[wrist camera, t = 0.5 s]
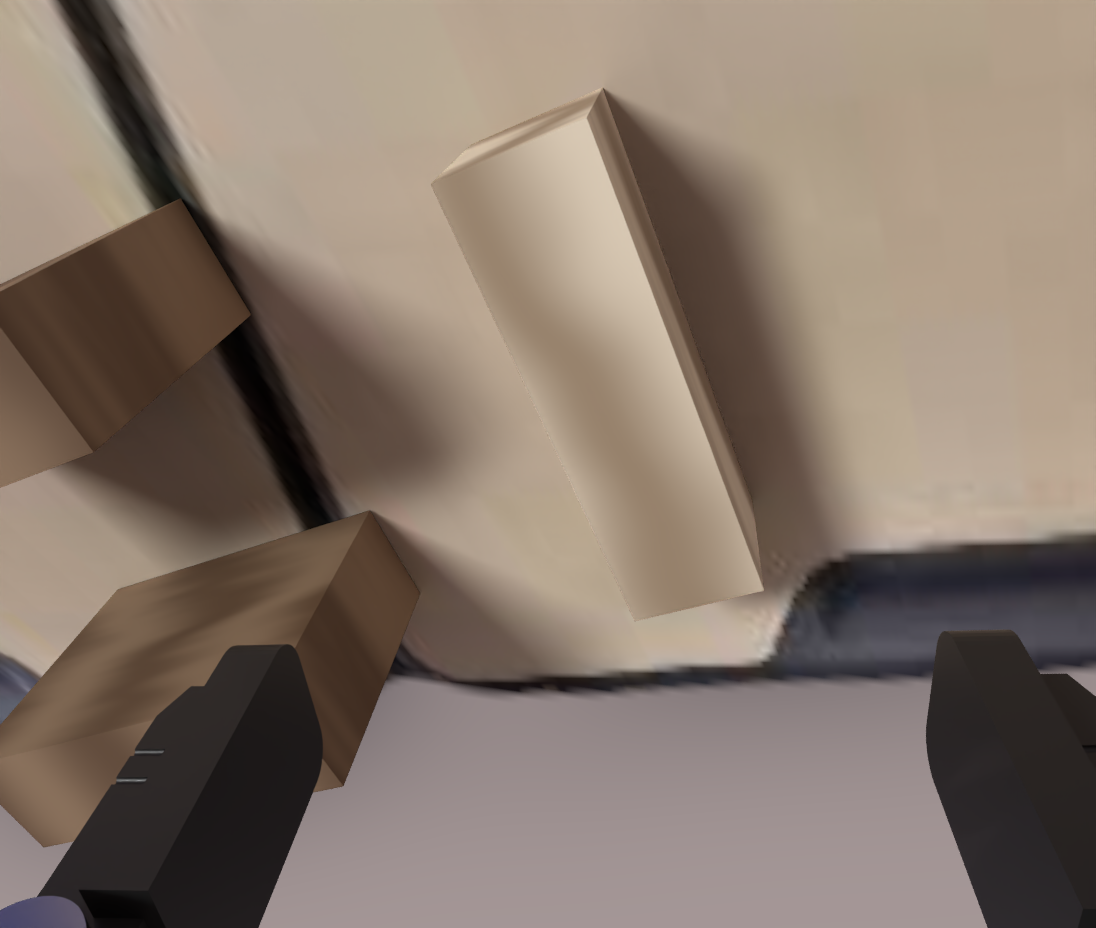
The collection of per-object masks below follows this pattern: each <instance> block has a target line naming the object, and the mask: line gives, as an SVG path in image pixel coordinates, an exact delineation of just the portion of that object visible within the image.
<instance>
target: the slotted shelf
mask: <svg viewBox="0 0 1096 928" xmlns="http://www.w3.org/2000/svg"><path fill="white" fill-rule="evenodd" d="M250 315H251V314H250V312H249V310H248V309H247V307H246V305H245V304H244V302H243V301H242V299H241V297H240V296H239V294H238V292H237V291H236V289H235V287H234V286H233V284H232V282H231V281H230V279H229V277H228V276H227V274H226V272H225V271H224V269H223V268H222V266H221V264H220V263H219V261H218V259H217V258H216V256H215V254H214V253H213V251H212V249H211V248H210V246H209V244H208V243H207V241H206V239H205V238H204V236H203V235H202V233H201V231H200V230H199V228H198V226H197V225H196V223H195V221H194V220H193V218H192V216H191V215H190V213H189V211H188V210H187V208H186V206H185V205H184V203H183V202H182V200H181V198H180V199H178V200H176V201H174V202H172V203H170V204H168V205H166V206H164V207H162V208H159V209H157V210H155V211H153V212H151V213H149V214H147V215H145V216H143V217H141V218H138V219H136V220H134V221H132V222H130V223H128V224H126V225H124V226H122V227H120V228H118V229H115V230H113V231H111V232H109V233H107V234H105V235H103V236H101V237H99V238H97V239H94V240H92V241H90V242H88V243H86V244H84V245H82V246H80V247H78V248H76V249H74V250H71V251H69V252H67V253H65V254H63V255H61V256H59V257H57V258H55V259H53V260H50V261H48V262H46V263H44V264H42V265H40V266H38V267H36V268H34V269H32V270H30V271H27V272H25V273H23V274H21V275H19V276H17V277H15V278H13V279H11V280H9V281H6V282H4V283H2V284H0V488H1V487H4V486H6V485H9V484H11V483H14V482H17V481H19V480H22V479H25V478H27V477H30V476H32V475H35V474H38V473H40V472H43V471H46V470H48V469H51V468H54V467H56V466H59V465H61V464H64V463H67V462H69V461H72V460H75V459H77V458H80V457H82V456H85V455H88V454H90V453H93V452H94V451H96V450H97V449H98V448H99V447H100V446H101V445H102V444H104V443H105V442H106V441H107V440H108V439H109V438H111V437H112V436H113V435H114V434H115V433H116V432H117V431H119V430H120V429H121V428H122V427H123V426H124V425H125V424H127V423H128V422H129V421H130V420H131V419H132V418H133V417H135V416H136V415H137V414H138V413H139V412H140V411H141V410H143V409H144V408H145V407H146V406H147V405H148V404H149V403H151V402H152V401H153V400H154V399H155V398H156V397H157V396H159V395H160V394H161V393H162V392H163V391H164V390H166V389H167V388H168V387H169V386H170V385H171V384H172V383H174V382H175V381H176V380H177V379H178V378H179V377H180V376H182V375H183V374H184V373H185V372H186V371H187V370H188V369H190V368H191V367H192V366H193V365H194V364H195V363H196V362H198V361H199V360H200V359H201V358H202V357H203V356H204V355H206V354H207V353H208V352H209V351H210V350H211V349H212V348H214V347H215V346H216V345H217V344H218V343H219V342H221V341H222V340H223V339H224V338H225V337H226V336H227V335H229V334H230V333H231V332H232V331H233V330H234V329H235V328H237V327H238V326H239V325H240V324H241V323H242V322H243V321H245V320H246V319H247V318H248V317H249V316H250ZM419 595H420V592H419V591H418V589H417V587H416V586H415V584H414V583H413V581H412V579H411V578H410V576H409V574H408V573H407V571H406V569H405V568H404V566H403V564H402V563H401V561H400V559H399V558H398V556H397V555H396V553H395V551H394V550H393V548H392V546H391V545H390V543H389V541H388V540H387V538H386V536H385V535H384V533H383V531H382V530H381V528H380V526H379V525H378V523H377V522H376V520H375V518H374V517H373V515H372V513H371V512H370V511H366V512H363V513H360V514H357V515H354V516H351V517H347V518H344V519H341V520H338V521H335V522H331V523H328V524H325V525H322V526H319V527H315V528H312V529H309V530H306V531H303V532H300V533H296V534H293V535H290V536H287V537H284V538H280V539H277V540H274V541H271V542H268V543H264V544H261V545H258V546H255V547H252V548H249V549H245V550H242V551H239V552H236V553H233V554H229V555H226V556H223V557H220V558H217V559H214V560H210V561H207V562H204V563H201V564H198V565H194V566H191V567H188V568H185V569H182V570H178V571H175V572H172V573H169V574H166V575H163V576H159V577H156V578H153V579H150V580H147V581H143V582H140V583H137V584H134V585H131V586H127V587H124V588H121V589H118V590H117V591H116V592H115V593H114V594H113V596H112V597H111V598H110V599H109V600H108V601H107V602H106V604H105V605H104V606H103V607H102V608H101V609H100V611H99V612H98V613H97V614H96V615H95V616H94V617H93V619H92V620H91V621H90V622H89V623H88V624H87V626H86V627H85V628H84V629H83V630H82V631H81V632H80V634H79V635H78V636H77V637H76V638H75V639H74V641H73V642H72V643H71V644H70V645H69V646H68V647H67V649H66V650H65V651H64V652H63V653H62V654H61V656H60V657H59V658H58V659H57V660H56V661H55V662H54V664H53V665H52V666H51V667H50V668H49V669H48V671H47V672H46V673H45V674H44V675H43V676H42V677H41V679H40V680H39V681H38V682H37V683H36V684H35V686H34V687H33V688H32V689H31V690H30V691H29V693H28V694H27V695H26V696H25V697H24V698H23V699H22V701H21V702H20V703H19V704H18V705H17V706H16V708H15V709H14V710H13V711H12V712H11V713H10V714H9V716H8V717H7V718H6V719H5V720H4V721H3V723H2V724H1V725H0V805H1V806H2V807H3V808H4V809H5V810H6V811H7V812H8V813H9V814H11V816H12V817H14V818H15V820H16V821H18V823H19V824H20V825H22V826H23V827H24V828H25V829H26V830H27V831H28V832H29V833H30V834H31V835H32V836H33V837H34V838H35V839H36V840H37V841H38V842H39V843H40V844H41V845H42V846H43V847H48V846H52V845H58V844H63V843H68V842H73V841H74V840H75V839H76V837H77V836H78V834H79V833H80V831H81V830H82V828H83V827H84V825H85V824H86V822H87V821H88V819H89V818H90V816H91V815H92V813H93V812H94V810H95V809H96V807H97V806H98V804H99V802H100V801H101V799H102V798H103V796H104V795H105V793H106V792H107V790H108V789H109V787H110V786H111V784H116V781H117V779H116V777H117V775H118V774H119V772H120V771H121V769H122V768H123V766H124V765H125V763H126V762H127V760H128V758H129V757H130V756H134V754H135V748H136V746H137V745H138V743H139V742H140V740H141V739H142V737H143V736H144V734H145V733H146V731H147V730H148V728H149V727H150V725H151V724H152V722H153V721H154V719H155V717H156V716H157V715H158V714H159V713H160V712H162V711H163V710H164V709H165V708H166V707H167V706H169V705H170V704H171V703H172V702H173V701H174V700H176V699H177V698H178V697H179V696H180V695H181V694H183V693H184V692H185V691H186V690H187V689H188V688H190V687H191V686H205V684H206V682H207V681H208V679H209V677H210V676H211V674H212V673H213V671H214V669H215V668H216V666H217V665H218V663H219V661H220V660H221V658H222V656H223V655H224V654H225V652H226V651H227V650H228V649H229V648H230V647H232V646H236V645H274V644H289V645H292V646H293V647H294V648H295V649H296V651H297V653H298V655H299V658H300V661H301V665H302V668H303V671H304V674H305V678H306V681H307V684H308V688H309V691H310V694H311V698H312V701H313V704H314V708H315V711H316V714H317V717H318V721H319V724H320V727H321V732H322V738H323V758H322V765H321V771H320V774H319V778H318V781H317V783H316V786H315V788H314V791H313V792H318V791H323V790H327V789H333V788H337V787H342V786H344V783H345V781H346V778H347V776H348V773H349V771H350V768H351V766H352V763H353V761H354V758H355V755H356V753H357V751H358V748H359V746H360V743H361V741H362V738H363V736H364V733H365V730H366V728H367V726H368V723H369V721H370V718H371V716H372V713H373V711H374V708H375V705H376V703H377V700H378V698H379V695H380V693H381V690H382V688H383V685H384V683H385V680H386V678H387V675H388V673H389V670H390V668H391V665H392V663H393V660H394V658H395V655H396V653H397V650H398V648H399V645H400V643H401V640H402V638H403V635H404V633H405V630H406V628H407V625H408V623H409V620H410V618H411V615H412V613H413V610H414V608H415V605H416V603H417V600H418V598H419Z"/></svg>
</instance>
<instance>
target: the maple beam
mask: <svg viewBox="0 0 1096 928" xmlns="http://www.w3.org/2000/svg"><path fill="white" fill-rule="evenodd" d="M431 186H432V188H433V190H434V192H435V195H436V197H437V199H438V201H439V203H440V205H441V207H442V210H443V212H444V214H445V216H446V218H447V220H448V222H449V225H450V227H451V229H452V231H453V233H454V235H455V237H456V240H457V242H458V244H459V246H460V248H461V250H462V252H463V255H464V257H465V259H466V261H467V263H468V265H469V267H470V270H471V272H472V274H473V276H474V278H475V280H476V282H477V285H478V287H479V289H480V291H481V293H482V295H483V297H484V300H485V302H486V304H487V306H488V308H489V310H490V312H491V315H492V317H493V319H494V321H495V323H496V325H497V327H498V329H499V332H500V334H501V336H502V338H503V340H504V342H505V344H506V347H507V349H508V351H509V353H510V355H511V357H512V359H513V362H514V364H515V366H516V368H517V370H518V372H519V374H520V377H521V379H522V381H523V383H524V385H525V387H526V389H527V392H528V394H529V396H530V398H531V400H532V402H533V404H534V407H535V409H536V411H537V413H538V415H539V417H540V419H541V422H542V424H543V426H544V428H545V430H546V432H547V434H548V437H549V439H550V441H551V443H552V445H553V447H554V449H555V452H556V454H557V456H558V458H559V460H560V462H561V464H562V467H563V469H564V471H565V473H566V475H567V477H568V479H569V482H570V484H571V486H572V488H573V490H574V492H575V494H576V497H577V499H578V501H579V503H580V505H581V507H582V509H583V512H584V514H585V516H586V518H587V520H588V522H589V524H590V527H591V529H592V531H593V533H594V535H595V537H596V539H597V542H598V544H599V546H600V548H601V550H602V552H603V554H604V557H605V559H606V561H607V563H608V565H609V567H610V569H611V572H612V574H613V576H614V578H615V580H616V582H617V584H618V587H619V589H620V591H621V593H622V595H623V597H624V599H625V602H626V604H627V606H628V608H629V610H630V612H631V614H632V617H633V619H634V621H638V620H643V619H647V618H651V617H655V616H659V615H664V614H668V613H672V612H676V611H681V610H685V609H689V608H693V607H697V606H702V605H706V604H710V603H714V602H719V601H723V600H727V599H731V598H735V597H740V596H744V595H748V594H752V593H756V592H761V591H764V586H763V578H762V570H761V563H760V555H759V547H758V539H757V532H756V524H755V516H754V508H753V501H752V499H751V496H750V493H749V490H748V488H747V485H746V482H745V479H744V477H743V474H742V471H741V468H740V466H739V463H738V460H737V457H736V454H735V452H734V449H733V446H732V443H731V441H730V438H729V435H728V432H727V430H726V427H725V424H724V421H723V419H722V416H721V413H720V410H719V408H718V405H717V402H716V399H715V397H714V394H713V391H712V388H711V385H710V383H709V380H708V377H707V374H706V372H705V369H704V366H703V363H702V361H701V358H700V355H699V352H698V350H697V347H696V344H695V341H694V339H693V336H692V333H691V330H690V328H689V325H688V322H687V319H686V316H685V314H684V311H683V308H682V305H681V303H680V300H679V297H678V294H677V292H676V289H675V286H674V283H673V281H672V278H671V275H670V272H669V270H668V267H667V264H666V261H665V259H664V256H663V253H662V250H661V248H660V245H659V242H658V239H657V236H656V234H655V231H654V228H653V225H652V223H651V220H650V217H649V214H648V212H647V209H646V206H645V203H644V201H643V198H642V195H641V192H640V190H639V187H638V184H637V181H636V179H635V176H634V173H633V170H632V167H631V165H630V162H629V159H628V156H627V154H626V151H625V148H624V145H623V143H622V140H621V137H620V134H619V132H618V129H617V126H616V123H615V121H614V118H613V115H612V112H611V110H610V107H609V104H608V101H607V98H606V96H605V93H604V90H603V88H600V89H598V90H596V91H594V92H591V93H589V94H587V95H584V96H582V97H580V98H577V99H575V100H573V101H571V102H568V103H566V104H564V105H561V106H559V107H557V108H554V109H552V110H550V111H548V112H545V113H543V114H541V115H538V116H536V117H534V118H532V119H529V120H527V121H525V122H522V123H520V124H518V125H515V126H513V127H511V128H509V129H506V130H504V131H502V132H499V133H497V134H495V135H492V136H490V137H488V138H486V139H483V140H481V141H479V142H476V143H474V144H472V145H470V146H469V147H468V148H467V149H466V150H465V151H464V152H463V153H462V154H461V155H460V156H459V157H458V158H457V159H456V160H455V161H454V162H453V163H452V164H451V165H450V166H449V167H448V168H447V169H446V170H445V171H444V172H443V173H441V174H440V175H439V176H438V177H437V178H436V179H435V180H434V181H433V182H432V183H431Z"/></svg>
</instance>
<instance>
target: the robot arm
mask: <svg viewBox="0 0 1096 928" xmlns="http://www.w3.org/2000/svg"><path fill="white" fill-rule="evenodd" d="M926 744H927V754H928V760H929V765H930V770H931V773H932V778H933V780H934V783H935V786H936V789H937V792H938V794H939V797H940V800H941V803H942V805H943V808H944V811H945V813H946V816H947V819H948V822H949V824H950V827H951V830H952V832H953V835H954V838H955V840H956V843H957V846H958V849H959V851H960V854H961V857H962V859H963V862H964V865H965V868H966V870H967V873H968V876H969V878H970V881H971V884H972V886H973V889H974V892H975V895H976V897H977V900H978V903H979V905H980V908H981V910H982V914H983V916H984V919H985V922H986V924H987V927H988V928H1096V696H1094V695H1093V694H1092V693H1091V692H1089V691H1088V690H1087V689H1085V688H1084V687H1083V686H1082V685H1080V684H1079V683H1078V682H1077V681H1075V680H1074V679H1073V678H1072V677H1070V676H1069V675H1068V674H1040V673H1039V671H1038V670H1037V668H1036V666H1035V664H1034V663H1033V661H1032V659H1031V657H1030V656H1029V654H1028V652H1027V651H1026V649H1025V647H1024V645H1023V644H1022V642H1021V640H1020V639H1019V637H1018V636H1017V635H1016V634H1015V633H1014V632H1013V631H1011V630H971V631H944V632H942V633H941V634H940V636H939V639H938V642H937V648H936V656H935V664H934V671H933V679H932V686H931V694H930V703H929V709H928V717H927V725H926ZM322 758H323V738H322V732H321V727H320V724H319V721H318V717H317V714H316V711H315V708H314V704H313V701H312V698H311V694H310V691H309V688H308V684H307V681H306V678H305V674H304V671H303V668H302V665H301V661H300V658H299V655H298V653H297V651H296V649H295V648H294V647H293V646H292V645H289V644H274V645H236V646H232V647H230V648H229V649H228V650H227V651H226V652H225V654H224V655H223V656H222V658H221V660H220V661H219V663H218V665H217V666H216V668H215V669H214V671H213V673H212V674H211V676H210V677H209V679H208V681H207V682H206V684H205V686H191V687H190V688H188V689H187V690H186V691H185V692H184V693H183V694H181V695H180V696H179V697H178V698H177V699H176V700H174V701H173V702H172V703H171V704H170V705H169V706H167V707H166V708H165V709H164V710H163V711H162V712H160V713H159V714H158V715H157V716H156V717H155V719H154V721H153V722H152V724H151V725H150V727H149V728H148V730H147V731H146V733H145V734H144V736H143V737H142V739H141V740H140V742H139V743H138V745H137V746H136V748H135V754H134V756H130V757H129V758H128V760H127V762H126V763H125V765H124V766H123V768H122V769H121V771H120V772H119V774H118V775H117V777H116V779H117V781H116V784H111V786H110V787H109V789H108V790H107V792H106V793H105V795H104V796H103V798H102V799H101V801H100V802H99V804H98V806H97V807H96V809H95V810H94V812H93V813H92V815H91V816H90V818H89V819H88V821H87V822H86V824H85V825H84V827H83V828H82V830H81V831H80V833H79V834H78V836H77V837H76V839H75V840H74V842H73V843H72V845H71V847H70V848H69V850H68V851H67V853H66V854H65V856H64V858H63V859H62V860H61V862H60V863H59V865H58V866H57V868H56V869H55V871H54V873H53V874H52V876H51V877H50V878H49V880H48V881H47V883H46V884H45V886H44V888H43V889H42V890H41V892H40V893H39V895H38V896H37V897H34V898H30V899H26V900H23V901H20V902H17V903H15V904H12V905H10V906H7V907H5V908H3V909H1V910H0V928H258V927H259V925H260V922H261V920H262V917H263V915H264V912H265V910H266V907H267V905H268V903H269V900H270V897H271V895H272V893H273V890H274V888H275V885H276V883H277V880H278V878H279V875H280V873H281V870H282V868H283V865H284V863H285V860H286V858H287V855H288V853H289V850H290V848H291V845H292V843H293V840H294V838H295V835H296V833H297V830H298V828H299V826H300V823H301V821H302V818H303V816H304V813H305V811H306V808H307V806H308V803H309V801H310V798H311V795H312V793H313V791H314V788H315V786H316V783H317V781H318V778H319V774H320V771H321V765H322Z"/></svg>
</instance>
